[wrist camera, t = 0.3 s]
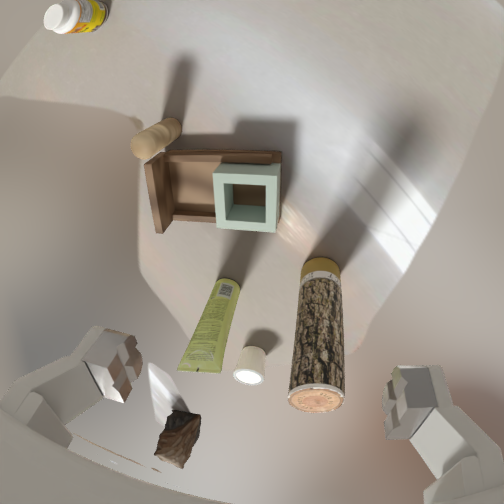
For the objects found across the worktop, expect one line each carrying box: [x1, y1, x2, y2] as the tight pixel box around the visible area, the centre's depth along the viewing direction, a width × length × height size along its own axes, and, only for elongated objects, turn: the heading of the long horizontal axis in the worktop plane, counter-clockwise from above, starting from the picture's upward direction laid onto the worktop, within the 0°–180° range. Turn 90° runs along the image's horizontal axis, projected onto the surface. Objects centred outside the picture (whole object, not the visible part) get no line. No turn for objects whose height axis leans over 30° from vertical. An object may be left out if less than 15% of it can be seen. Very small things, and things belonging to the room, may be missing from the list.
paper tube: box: [288, 257, 345, 413], centre depth 44 cm, size 7×7×25 cm
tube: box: [177, 279, 240, 374], centre depth 52 cm, size 6×5×20 cm
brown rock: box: [154, 410, 201, 469], centre depth 94 cm, size 13×13×20 cm
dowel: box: [131, 118, 182, 159], centre depth 40 cm, size 4×4×9 cm
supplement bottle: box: [44, 0, 108, 34], centre depth 29 cm, size 6×6×10 cm
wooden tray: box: [144, 150, 281, 234], centre depth 45 cm, size 11×18×6 cm, turn 91°
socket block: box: [213, 162, 281, 233], centre depth 44 cm, size 8×8×5 cm
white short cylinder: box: [233, 346, 266, 385], centre depth 68 cm, size 7×7×7 cm
